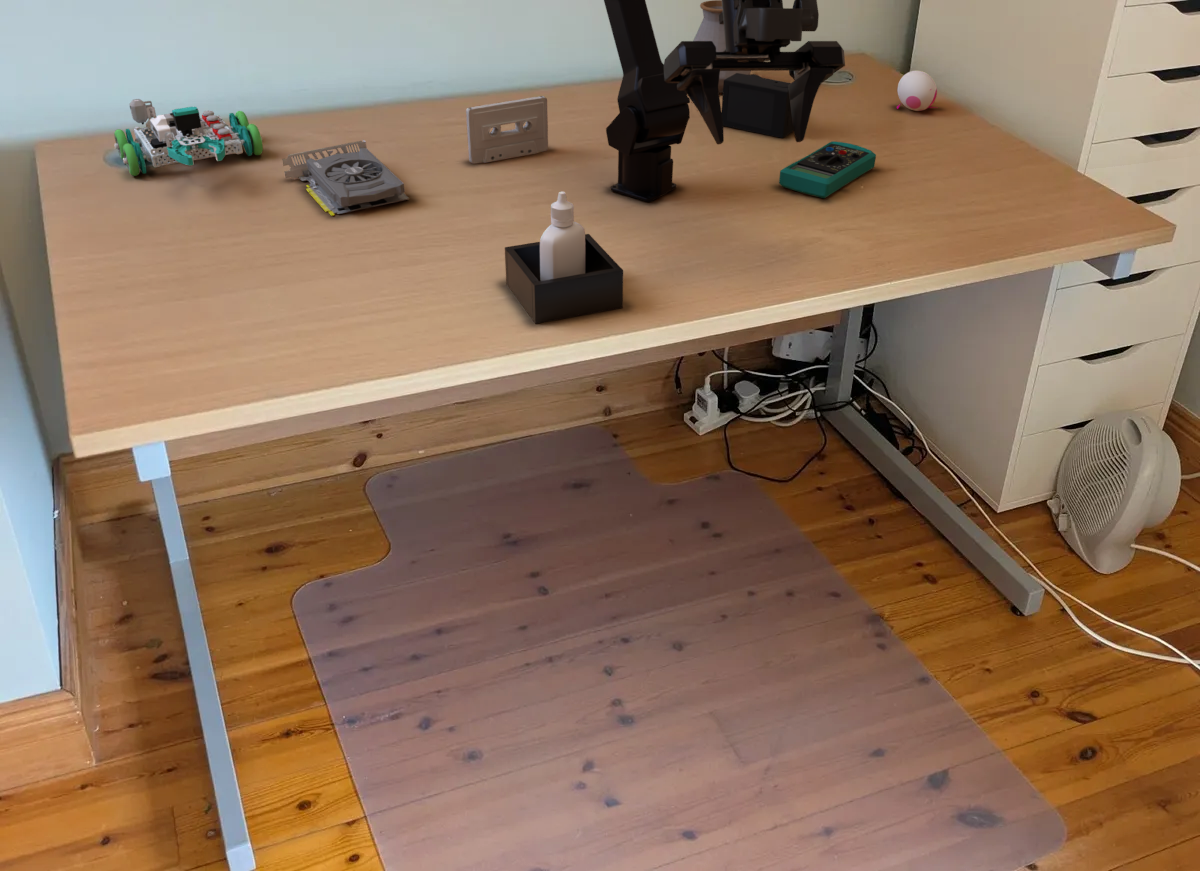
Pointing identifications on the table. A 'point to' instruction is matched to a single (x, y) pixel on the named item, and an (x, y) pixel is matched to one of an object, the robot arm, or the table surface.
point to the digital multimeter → (827, 169)
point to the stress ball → (917, 91)
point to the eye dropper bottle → (562, 243)
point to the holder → (564, 283)
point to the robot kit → (183, 137)
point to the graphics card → (346, 179)
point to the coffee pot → (714, 34)
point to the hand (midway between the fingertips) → (760, 142)
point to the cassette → (510, 141)
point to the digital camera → (757, 105)
